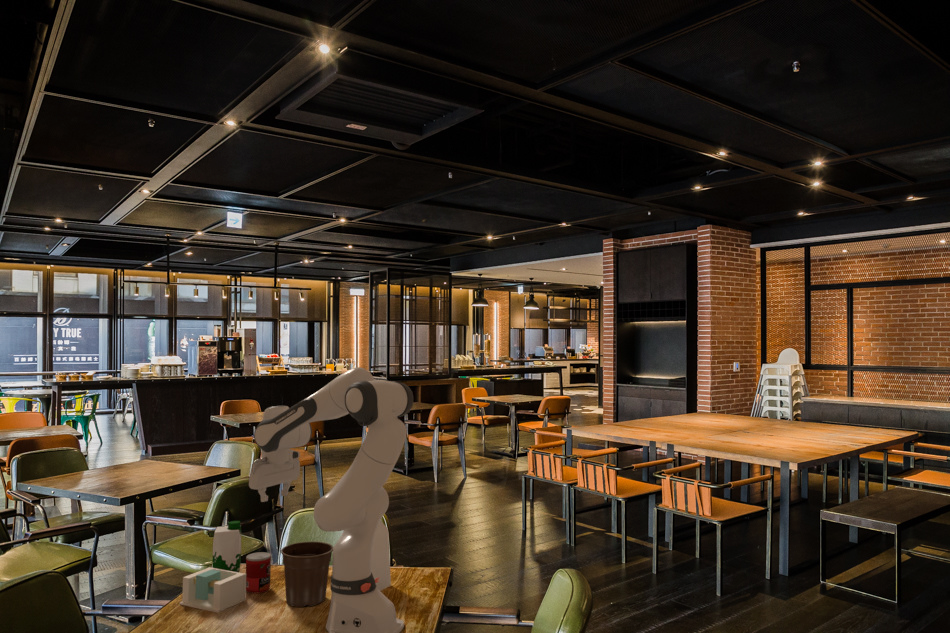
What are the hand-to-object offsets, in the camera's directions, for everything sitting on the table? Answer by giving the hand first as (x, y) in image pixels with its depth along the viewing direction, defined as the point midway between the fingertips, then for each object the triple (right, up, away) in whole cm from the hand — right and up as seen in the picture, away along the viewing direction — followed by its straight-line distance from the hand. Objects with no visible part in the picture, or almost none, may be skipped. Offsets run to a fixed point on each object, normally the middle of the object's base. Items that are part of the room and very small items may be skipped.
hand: (274, 498), depth 207 cm
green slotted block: (-18, -28, -8) cm, 35 cm away
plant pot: (+12, -31, -5) cm, 34 cm away
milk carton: (-20, -32, +11) cm, 40 cm away
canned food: (-7, -32, +4) cm, 33 cm away
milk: (+29, -32, +6) cm, 43 cm away
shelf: (-17, -31, -7) cm, 36 cm away
